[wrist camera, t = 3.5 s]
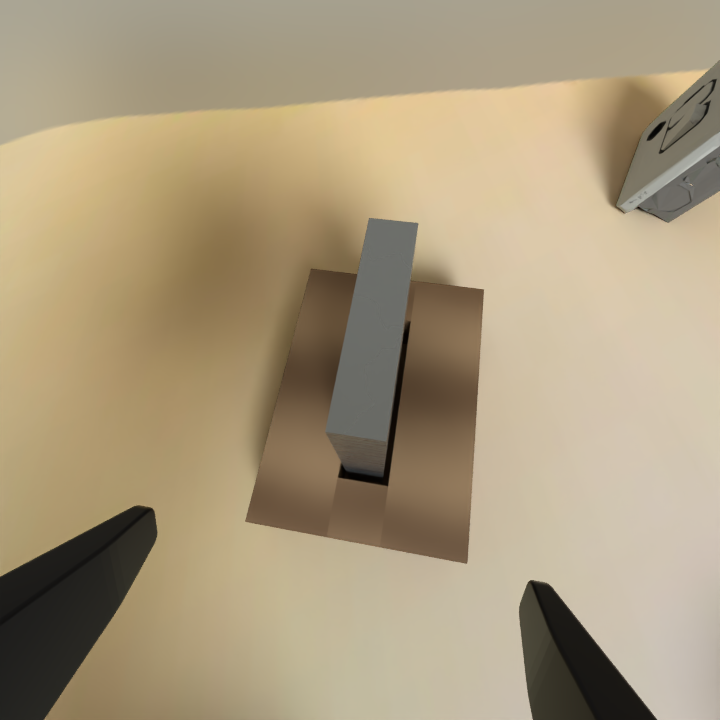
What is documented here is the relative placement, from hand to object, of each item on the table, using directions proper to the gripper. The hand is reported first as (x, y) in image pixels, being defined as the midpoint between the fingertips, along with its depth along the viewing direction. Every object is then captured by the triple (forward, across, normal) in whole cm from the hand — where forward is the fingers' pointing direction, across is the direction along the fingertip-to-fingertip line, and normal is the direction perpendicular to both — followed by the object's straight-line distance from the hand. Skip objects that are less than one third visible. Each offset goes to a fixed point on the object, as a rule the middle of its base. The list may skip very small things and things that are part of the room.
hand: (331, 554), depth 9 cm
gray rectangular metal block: (+14, 0, +4) cm, 14 cm away
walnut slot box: (+14, 0, +4) cm, 15 cm away
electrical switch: (+30, -19, -11) cm, 37 cm away
